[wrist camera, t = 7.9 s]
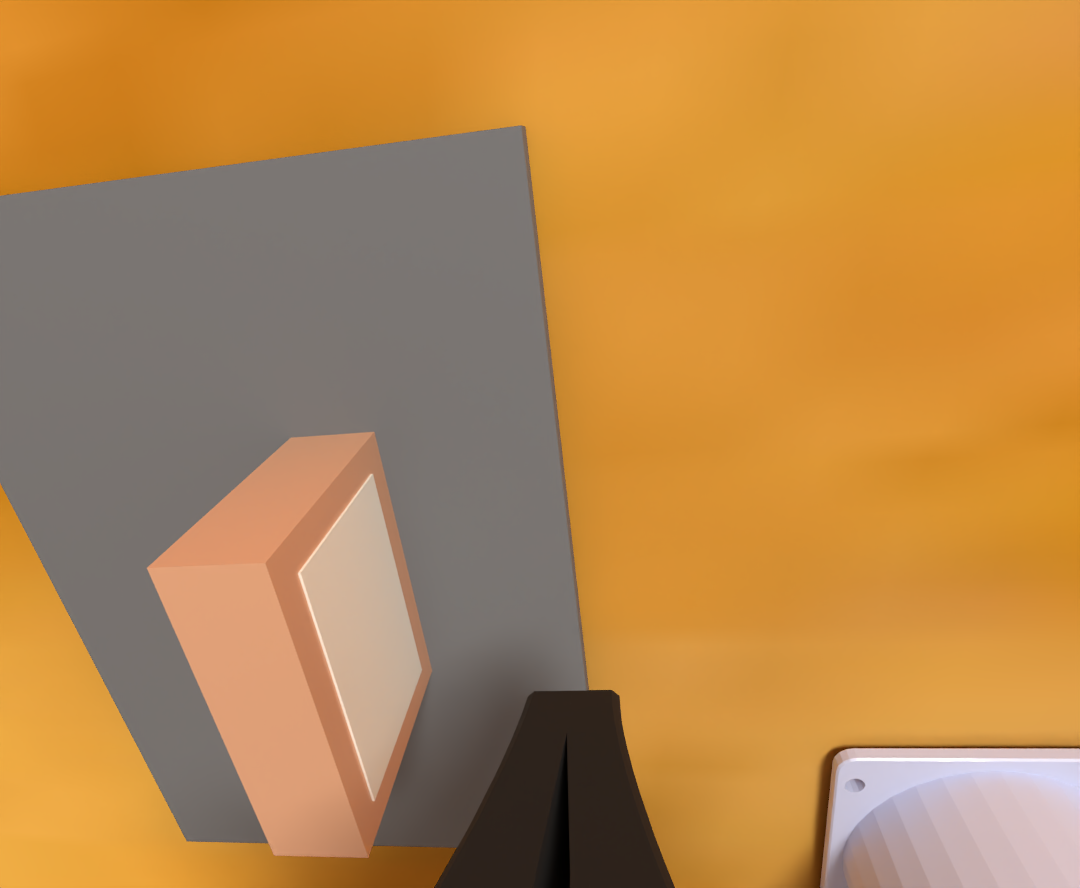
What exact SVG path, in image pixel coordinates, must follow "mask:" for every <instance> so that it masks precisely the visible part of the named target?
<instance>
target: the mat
mask: <svg viewBox="0 0 1080 888" xmlns="http://www.w3.org/2000/svg"><path fill="white" fill-rule="evenodd" d="M364 432H375V437H376V441H377V445H378V449H379V453H380V457H381V461H382V465H383V470H384V474H385V478H386V482H387V486H388V490H389V494H390V498H391V503H392V507H393V511H394V515H395V519H396V523H397V527H398V532H399V536H400V540H401V544H402V548H403V552H404V556H405V560H406V565H407V569H408V573H409V577H410V581H411V585H412V589H413V593H414V598H415V602H416V606H417V610H418V614H419V618H420V622H421V626H422V631H423V635H424V639H425V643H426V647H427V651H428V655H429V660H430V664H431V668H432V673H431V676H430V679H429V681H428V684H427V687H426V690H425V693H424V696H423V699H422V702H421V705H420V708H419V711H418V714H417V717H416V720H415V723H414V726H413V729H412V731H411V734H410V737H409V740H408V743H407V746H406V749H405V752H404V755H403V758H402V761H401V764H400V767H399V770H398V773H397V776H396V779H395V781H394V784H393V787H392V790H391V793H390V796H389V799H388V802H387V805H386V808H385V811H384V814H383V817H382V820H381V823H380V826H379V828H378V831H377V834H376V837H375V840H374V843H373V846H410V847H453V848H457V847H458V845H459V843H460V842H461V840H462V838H463V836H464V835H465V833H466V831H467V829H468V827H469V826H470V824H471V822H472V820H473V818H474V816H475V814H476V812H477V810H478V808H479V806H480V804H481V802H482V800H483V798H484V796H485V794H486V792H487V790H488V788H489V786H490V784H491V782H492V780H493V778H494V776H495V774H496V772H497V770H498V768H499V766H500V764H501V761H502V759H503V757H504V755H505V753H506V750H507V748H508V746H509V744H510V741H511V739H512V737H513V734H514V732H515V730H516V727H517V725H518V722H519V720H520V717H521V714H522V712H523V709H524V706H525V703H526V700H527V697H528V696H529V695H530V694H531V693H533V692H534V691H582V690H589V687H588V678H587V670H586V661H585V652H584V643H583V634H582V625H581V616H580V608H579V599H578V590H577V581H576V572H575V563H574V554H573V545H572V537H571V528H570V519H569V510H568V501H567V492H566V483H565V475H564V466H563V457H562V448H561V439H560V430H559V421H558V412H557V404H556V395H555V386H554V377H553V368H552V359H551V350H550V342H549V333H548V324H547V315H546V306H545V297H544V288H543V279H542V271H541V262H540V253H539V244H538V235H537V226H536V217H535V209H534V200H533V191H532V182H531V173H530V164H529V155H528V146H527V138H526V129H525V126H514V127H507V128H500V129H492V130H485V131H477V132H470V133H463V134H455V135H448V136H440V137H433V138H426V139H418V140H411V141H403V142H396V143H389V144H381V145H374V146H366V147H359V148H352V149H344V150H337V151H329V152H322V153H315V154H307V155H300V156H292V157H285V158H278V159H270V160H263V161H256V162H248V163H241V164H233V165H226V166H219V167H211V168H204V169H196V170H189V171H182V172H174V173H167V174H159V175H152V176H145V177H137V178H130V179H122V180H115V181H108V182H100V183H93V184H85V185H78V186H71V187H63V188H56V189H48V190H41V191H34V192H26V193H19V194H11V195H4V196H0V483H1V485H2V487H3V489H4V491H5V493H6V495H7V497H8V499H9V501H10V503H11V505H12V506H13V508H14V510H15V512H16V514H17V516H18V518H19V520H20V522H21V524H22V526H23V528H24V530H25V531H26V533H27V535H28V537H29V539H30V541H31V543H32V545H33V547H34V549H35V551H36V553H37V554H38V556H39V558H40V560H41V562H42V564H43V566H44V568H45V570H46V572H47V574H48V576H49V577H50V579H51V581H52V583H53V585H54V587H55V589H56V591H57V593H58V595H59V597H60V599H61V601H62V602H63V604H64V606H65V608H66V610H67V612H68V614H69V616H70V618H71V620H72V622H73V624H74V625H75V627H76V629H77V631H78V633H79V635H80V637H81V639H82V641H83V643H84V645H85V647H86V648H87V650H88V652H89V654H90V656H91V658H92V660H93V662H94V664H95V666H96V668H97V670H98V672H99V673H100V675H101V677H102V679H103V681H104V683H105V685H106V687H107V689H108V691H109V693H110V695H111V696H112V698H113V700H114V702H115V704H116V706H117V708H118V710H119V712H120V714H121V716H122V718H123V719H124V721H125V723H126V725H127V727H128V729H129V731H130V733H131V735H132V737H133V739H134V741H135V742H136V744H137V746H138V748H139V750H140V752H141V754H142V756H143V758H144V760H145V762H146V764H147V766H148V767H149V769H150V771H151V773H152V775H153V777H154V779H155V781H156V783H157V785H158V787H159V789H160V790H161V792H162V794H163V796H164V798H165V800H166V802H167V804H168V806H169V808H170V810H171V812H172V813H173V815H174V817H175V819H176V821H177V823H178V825H179V827H180V829H181V831H182V833H183V835H184V837H185V838H186V840H187V841H196V842H239V843H268V841H267V838H266V836H265V834H264V832H263V829H262V827H261V825H260V823H259V820H258V818H257V816H256V814H255V811H254V809H253V807H252V804H251V802H250V800H249V798H248V795H247V793H246V791H245V789H244V786H243V784H242V782H241V780H240V777H239V775H238V773H237V771H236V768H235V766H234V764H233V762H232V759H231V757H230V755H229V753H228V750H227V748H226V746H225V744H224V741H223V739H222V737H221V734H220V732H219V730H218V728H217V725H216V723H215V721H214V719H213V716H212V714H211V712H210V710H209V707H208V705H207V703H206V701H205V698H204V696H203V694H202V692H201V689H200V687H199V685H198V683H197V680H196V678H195V676H194V673H193V671H192V669H191V667H190V664H189V662H188V660H187V658H186V655H185V653H184V651H183V649H182V646H181V644H180V642H179V640H178V637H177V635H176V633H175V631H174V628H173V626H172V624H171V622H170V619H169V617H168V615H167V613H166V610H165V608H164V606H163V603H162V601H161V599H160V597H159V594H158V592H157V590H156V588H155V585H154V583H153V581H152V579H151V576H150V574H149V572H148V570H147V567H148V566H149V565H151V564H152V563H153V562H154V561H155V560H156V559H157V558H158V557H159V556H161V555H162V554H163V553H164V552H165V551H166V550H167V549H168V548H169V547H170V546H172V545H173V544H174V543H175V542H176V541H177V540H178V539H179V538H180V537H181V536H183V535H184V534H185V533H186V532H187V531H188V530H189V529H190V528H191V527H193V526H194V525H195V524H196V523H197V522H198V521H199V520H200V519H201V518H202V517H204V516H205V515H206V514H207V513H208V512H209V511H210V510H211V509H212V508H214V507H215V506H216V505H217V504H218V503H219V502H220V501H221V500H222V499H223V498H225V497H226V496H227V495H228V494H229V493H230V492H231V491H232V490H233V489H235V488H236V487H237V486H238V485H239V484H240V483H241V482H242V481H243V480H244V479H246V478H247V477H248V476H249V475H250V474H251V473H252V472H253V471H254V470H255V469H257V468H258V467H259V466H260V465H261V464H262V463H263V462H264V461H265V460H267V459H268V458H269V457H270V456H271V455H272V454H273V453H274V452H275V451H276V450H278V449H279V448H280V447H281V446H282V445H283V444H284V443H285V442H286V441H288V440H289V439H290V438H293V437H307V436H321V435H336V434H350V433H364Z"/></svg>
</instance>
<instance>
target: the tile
mask: <svg viewBox="0 0 1080 888" xmlns="http://www.w3.org/2000/svg"><path fill="white" fill-rule="evenodd" d="M147 570H148V572H149V574H150V576H151V579H152V581H153V583H154V585H155V588H156V590H157V592H158V594H159V597H160V599H161V601H162V603H163V606H164V608H165V610H166V613H167V615H168V617H169V619H170V622H171V624H172V626H173V628H174V631H175V633H176V635H177V637H178V640H179V642H180V644H181V646H182V649H183V651H184V653H185V655H186V658H187V660H188V662H189V664H190V667H191V669H192V671H193V673H194V676H195V678H196V680H197V683H198V685H199V687H200V689H201V692H202V694H203V696H204V698H205V701H206V703H207V705H208V707H209V710H210V712H211V714H212V716H213V719H214V721H215V723H216V725H217V728H218V730H219V732H220V734H221V737H222V739H223V741H224V744H225V746H226V748H227V750H228V753H229V755H230V757H231V759H232V762H233V764H234V766H235V768H236V771H237V773H238V775H239V777H240V780H241V782H242V784H243V786H244V789H245V791H246V793H247V795H248V798H249V800H250V802H251V804H252V807H253V809H254V811H255V814H256V816H257V818H258V820H259V823H260V825H261V827H262V829H263V832H264V834H265V836H266V838H267V841H268V843H269V845H270V847H271V850H272V852H273V854H274V855H277V856H315V857H354V858H369V855H370V852H371V849H372V846H373V843H374V840H375V837H376V834H377V831H378V828H379V826H380V823H381V820H382V817H383V814H384V811H385V808H386V805H387V802H388V799H389V796H390V793H391V790H392V787H393V784H394V781H395V779H396V776H397V773H398V770H399V767H400V764H401V761H402V758H403V755H404V752H405V749H406V746H407V743H408V740H409V737H410V734H411V731H412V729H413V726H414V723H415V720H416V717H417V714H418V711H419V708H420V705H421V702H422V699H423V696H424V693H425V690H426V687H427V684H428V681H429V679H430V676H431V673H432V668H431V664H430V660H429V655H428V651H427V647H426V643H425V639H424V635H423V631H422V626H421V622H420V618H419V614H418V610H417V606H416V602H415V598H414V593H413V589H412V585H411V581H410V577H409V573H408V569H407V565H406V560H405V556H404V552H403V548H402V544H401V540H400V536H399V532H398V527H397V523H396V519H395V515H394V511H393V507H392V503H391V498H390V494H389V490H388V486H387V482H386V478H385V474H384V470H383V465H382V461H381V457H380V453H379V449H378V445H377V441H376V437H375V432H364V433H350V434H336V435H321V436H307V437H293V438H290V439H289V440H288V441H286V442H285V443H284V444H283V445H282V446H281V447H280V448H279V449H278V450H276V451H275V452H274V453H273V454H272V455H271V456H270V457H269V458H268V459H267V460H265V461H264V462H263V463H262V464H261V465H260V466H259V467H258V468H257V469H255V470H254V471H253V472H252V473H251V474H250V475H249V476H248V477H247V478H246V479H244V480H243V481H242V482H241V483H240V484H239V485H238V486H237V487H236V488H235V489H233V490H232V491H231V492H230V493H229V494H228V495H227V496H226V497H225V498H223V499H222V500H221V501H220V502H219V503H218V504H217V505H216V506H215V507H214V508H212V509H211V510H210V511H209V512H208V513H207V514H206V515H205V516H204V517H202V518H201V519H200V520H199V521H198V522H197V523H196V524H195V525H194V526H193V527H191V528H190V529H189V530H188V531H187V532H186V533H185V534H184V535H183V536H181V537H180V538H179V539H178V540H177V541H176V542H175V543H174V544H173V545H172V546H170V547H169V548H168V549H167V550H166V551H165V552H164V553H163V554H162V555H161V556H159V557H158V558H157V559H156V560H155V561H154V562H153V563H152V564H151V565H149V566H148V567H147Z"/></svg>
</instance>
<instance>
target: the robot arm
mask: <svg viewBox="0 0 1080 888" xmlns="http://www.w3.org/2000/svg"><path fill="white" fill-rule="evenodd" d="M434 888H675V887H674V884H673V882H672V880H671V877H670V875H669V872H668V870H667V867H666V865H665V862H664V860H663V857H662V854H661V852H660V849H659V846H658V844H657V841H656V838H655V836H654V833H653V830H652V827H651V824H650V821H649V818H648V815H647V813H646V810H645V807H644V804H643V801H642V798H641V795H640V792H639V789H638V786H637V782H636V779H635V776H634V772H633V769H632V765H631V761H630V757H629V754H628V750H627V746H626V741H625V737H624V732H623V727H622V721H621V710H620V698H619V695H617V694H616V693H615V692H614V691H612V690H582V691H534V692H533V693H531V694H530V695H529V696H528V697H527V700H526V703H525V706H524V709H523V712H522V714H521V717H520V720H519V722H518V725H517V727H516V730H515V732H514V734H513V737H512V739H511V741H510V744H509V746H508V748H507V750H506V753H505V755H504V757H503V759H502V761H501V764H500V766H499V768H498V770H497V772H496V774H495V776H494V778H493V780H492V782H491V784H490V786H489V788H488V790H487V792H486V794H485V796H484V798H483V800H482V802H481V804H480V806H479V808H478V810H477V812H476V814H475V816H474V818H473V820H472V822H471V824H470V826H469V827H468V829H467V831H466V833H465V835H464V836H463V838H462V840H461V842H460V843H459V845H458V847H457V849H456V851H455V852H454V854H453V856H452V858H451V859H450V861H449V863H448V865H447V866H446V868H445V870H444V872H443V873H442V875H441V877H440V879H439V880H438V882H437V884H436V885H435V887H434ZM820 888H1080V748H850V749H845V750H843V751H840V752H839V753H838V754H837V755H836V756H835V757H834V759H833V763H832V773H831V783H830V793H829V803H828V813H827V823H826V833H825V843H824V853H823V863H822V873H821V883H820Z"/></svg>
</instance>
